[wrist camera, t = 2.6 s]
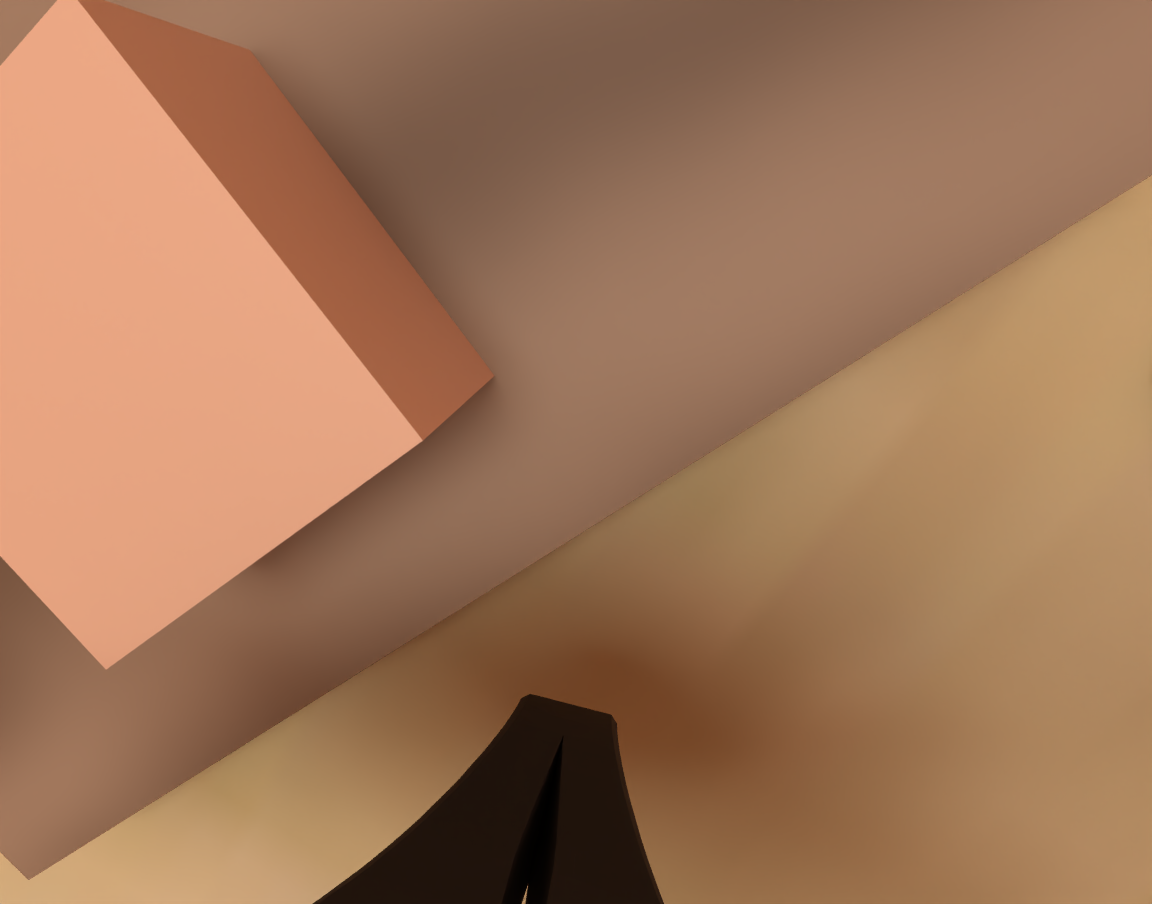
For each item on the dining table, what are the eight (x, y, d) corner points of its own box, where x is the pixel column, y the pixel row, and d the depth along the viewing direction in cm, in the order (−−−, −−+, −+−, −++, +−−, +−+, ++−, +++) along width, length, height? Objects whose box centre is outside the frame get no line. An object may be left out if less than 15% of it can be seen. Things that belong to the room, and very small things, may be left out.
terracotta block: (494, 375, 11) (422, 440, 8) (243, 558, 12) (106, 670, 9) (249, 49, 10) (67, -12, 7) (11, 288, 11) (-222, 318, 8)
